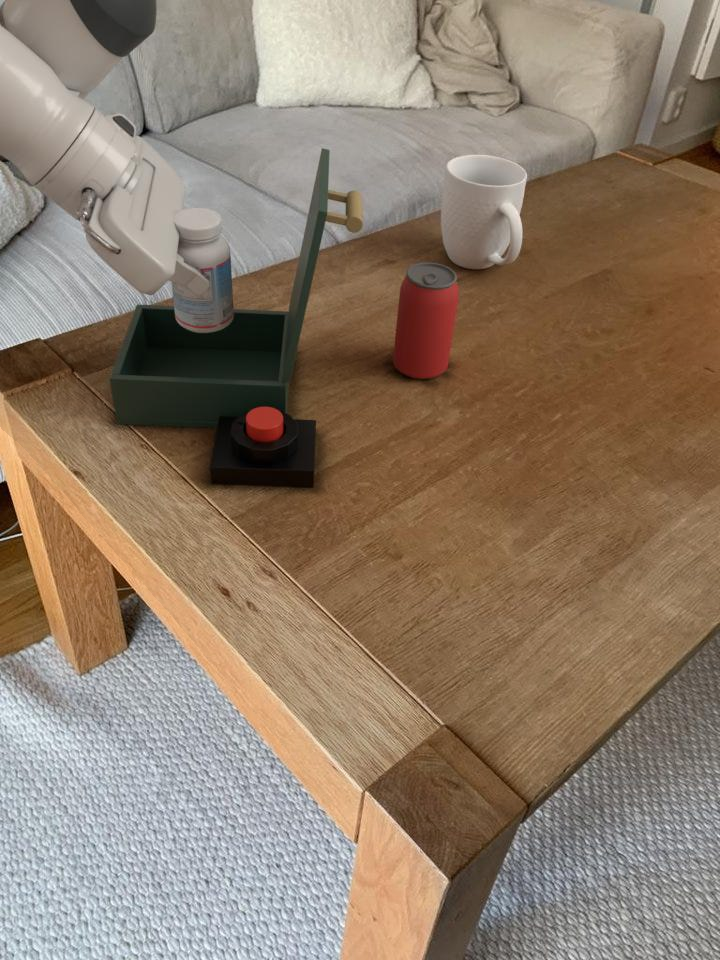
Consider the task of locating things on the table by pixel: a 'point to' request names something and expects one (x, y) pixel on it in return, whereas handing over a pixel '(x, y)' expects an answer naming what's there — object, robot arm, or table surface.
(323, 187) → the box lid
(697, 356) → the table surface
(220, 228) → the pill bottle
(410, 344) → the beer can
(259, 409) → the button
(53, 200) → the robot arm
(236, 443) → the control block
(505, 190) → the mug
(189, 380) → the box
